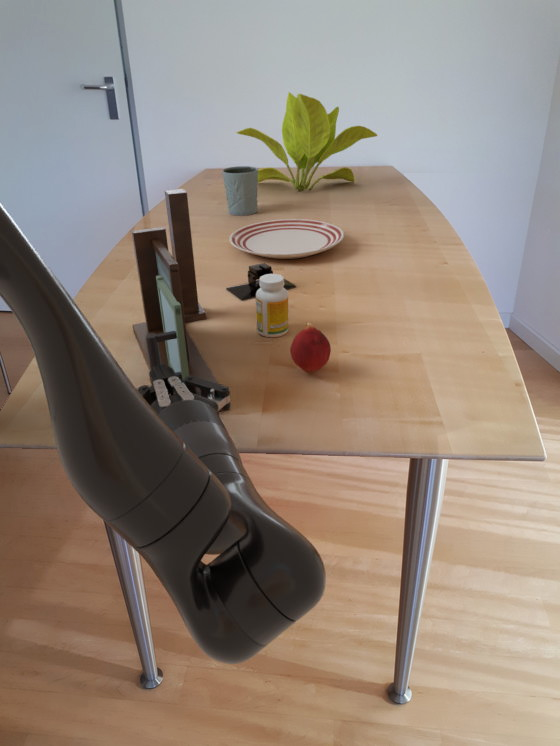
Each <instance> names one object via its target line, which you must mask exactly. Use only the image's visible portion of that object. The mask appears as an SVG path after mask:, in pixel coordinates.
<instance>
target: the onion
mask: <svg viewBox="0 0 560 746" xmlns="http://www.w3.org/2000/svg"><path fill="white" fill-rule="evenodd" d="M289 352H290V356H291V359H292V362H293V363H294V364H295V365H297V367H298V368H300V369H301V370H303V371H304V372H306V373H308V374H311V373H315V372H316V371H319V370H320V369H322V368H323V367H325V365H327V363H328V362H329V360H330V357H331V352H332V349H331V343H330V341H329V340H328V337H327V336H326V335H325V334H324V333H323V332H322V331H321V330H320V329H317V327H315V326H314V325H313V324H312V323H311V322H306V325H305V328H303V329H302V330H300V331H298V333H297V334H296V335H295V336H294V337H293V339H292V341H291V344H290V348H289Z"/></svg>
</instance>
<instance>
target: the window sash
mask: <svg viewBox="0 0 560 746" xmlns="http://www.w3.org/2000/svg"><path fill="white" fill-rule="evenodd" d="M156 281H157V288H158V295H159V302H160V309H161V316H162V323H163V330H164V333H160V334H155V333H150V334H147V335H146V336H145V338H146V344H147V350H148V356H149V362H150V368H151V371H152V370H153V366H157V365H161V359H160V352H159V346H158V342H161V341H165V344H166V351H167V358H168V365H169V367H171V368H173V371H174V373H175V375H176V377H178V378H179V379H181V380H185V377H187V376H189V370H188V362H187V353H186V345H185V337H184V329H183V320H182V312H181V305H180V303H179V302H177V301H176V299H175V297H174V296H173V294H172V293H171V291H170V289H169V288H168V286H167V285H166V283H165V282H164V280H163V277H162V275H159V276H156Z"/></svg>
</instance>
